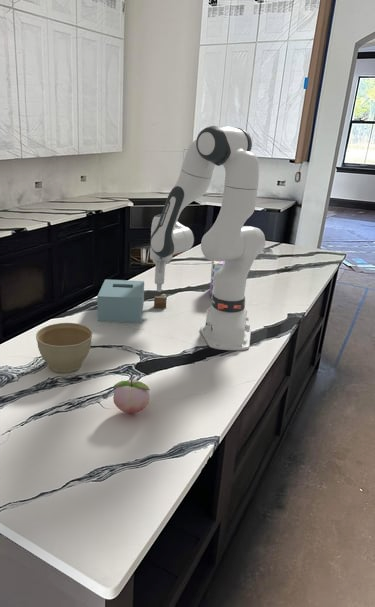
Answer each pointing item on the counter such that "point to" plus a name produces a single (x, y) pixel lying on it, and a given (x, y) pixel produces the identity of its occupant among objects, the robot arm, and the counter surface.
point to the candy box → (215, 267)
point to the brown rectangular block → (160, 302)
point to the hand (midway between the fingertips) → (159, 286)
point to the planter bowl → (64, 345)
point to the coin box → (121, 301)
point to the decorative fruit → (131, 396)
